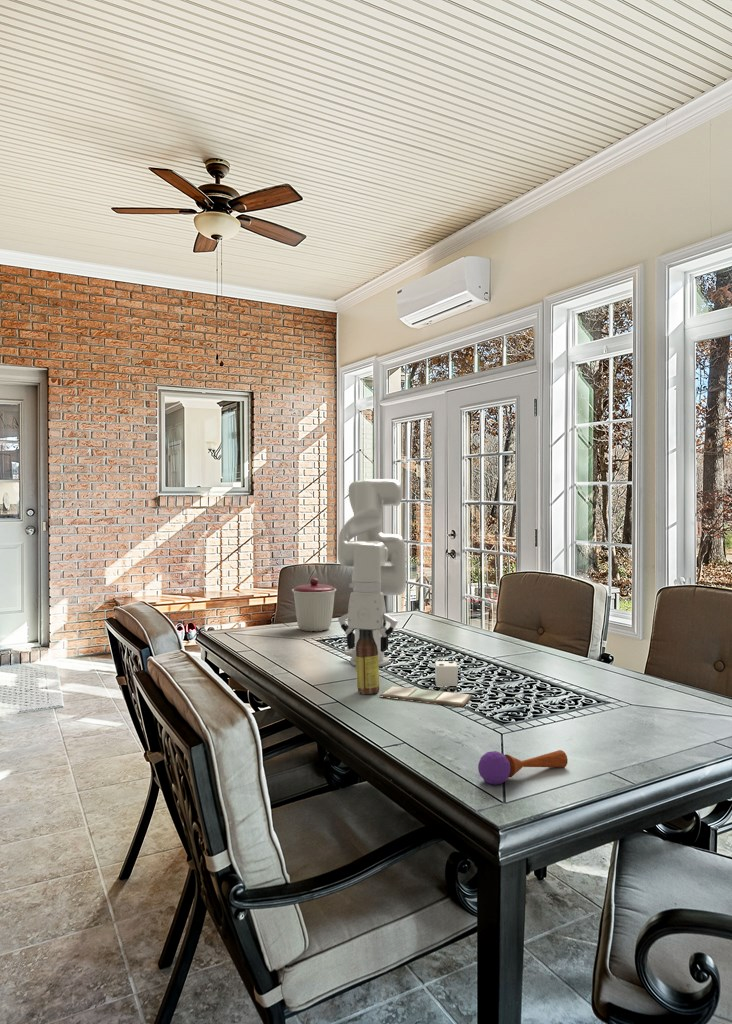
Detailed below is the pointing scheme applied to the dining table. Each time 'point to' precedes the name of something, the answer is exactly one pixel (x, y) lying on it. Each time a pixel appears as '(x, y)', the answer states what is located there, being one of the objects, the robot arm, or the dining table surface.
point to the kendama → (515, 764)
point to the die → (446, 673)
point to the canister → (314, 605)
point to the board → (427, 696)
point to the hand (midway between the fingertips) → (367, 649)
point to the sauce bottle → (367, 663)
